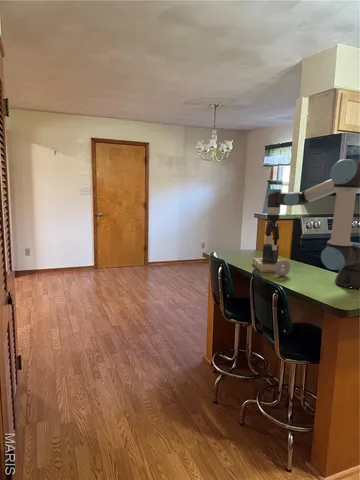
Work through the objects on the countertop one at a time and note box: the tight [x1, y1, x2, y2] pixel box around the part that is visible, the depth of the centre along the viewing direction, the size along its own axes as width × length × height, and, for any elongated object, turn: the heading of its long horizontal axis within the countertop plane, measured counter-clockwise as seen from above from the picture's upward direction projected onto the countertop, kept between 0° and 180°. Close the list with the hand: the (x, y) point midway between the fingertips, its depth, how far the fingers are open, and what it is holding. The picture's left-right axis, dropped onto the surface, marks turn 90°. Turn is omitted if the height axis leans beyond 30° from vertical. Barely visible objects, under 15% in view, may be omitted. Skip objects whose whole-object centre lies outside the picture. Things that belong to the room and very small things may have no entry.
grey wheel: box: [274, 258, 291, 277], centre depth 187 cm, size 10×4×10 cm, turn 109°
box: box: [261, 243, 280, 263], centre depth 204 cm, size 8×6×11 cm
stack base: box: [252, 257, 284, 273], centre depth 205 cm, size 20×16×4 cm
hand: (271, 248), depth 203 cm, fingers open, 13 cm apart
